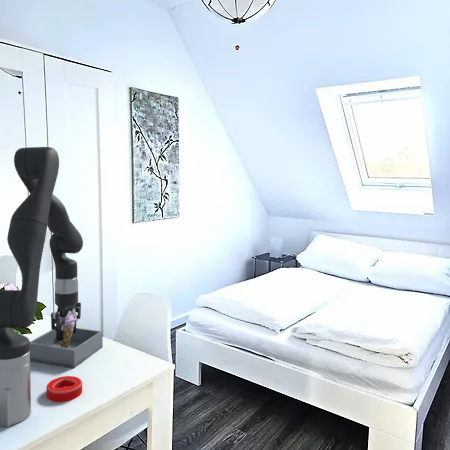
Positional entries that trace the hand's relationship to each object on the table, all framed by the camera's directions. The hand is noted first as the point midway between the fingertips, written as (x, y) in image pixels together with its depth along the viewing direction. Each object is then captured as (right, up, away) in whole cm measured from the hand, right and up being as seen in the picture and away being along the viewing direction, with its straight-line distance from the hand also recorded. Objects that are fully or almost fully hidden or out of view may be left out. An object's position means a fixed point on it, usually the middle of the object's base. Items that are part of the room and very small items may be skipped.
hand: (66, 336), depth 146 cm
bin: (0, -6, +1) cm, 6 cm away
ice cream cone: (-1, -6, 0) cm, 6 cm away
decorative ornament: (+9, -10, -25) cm, 28 cm away
